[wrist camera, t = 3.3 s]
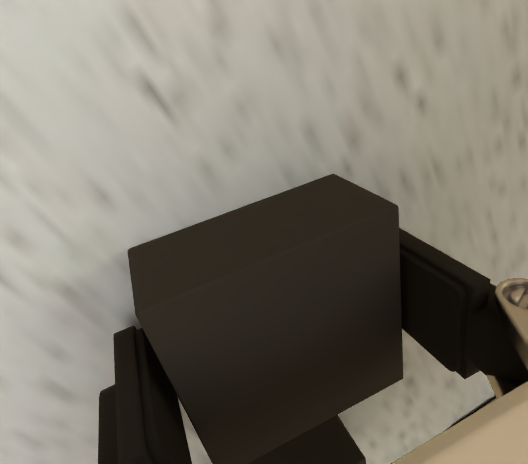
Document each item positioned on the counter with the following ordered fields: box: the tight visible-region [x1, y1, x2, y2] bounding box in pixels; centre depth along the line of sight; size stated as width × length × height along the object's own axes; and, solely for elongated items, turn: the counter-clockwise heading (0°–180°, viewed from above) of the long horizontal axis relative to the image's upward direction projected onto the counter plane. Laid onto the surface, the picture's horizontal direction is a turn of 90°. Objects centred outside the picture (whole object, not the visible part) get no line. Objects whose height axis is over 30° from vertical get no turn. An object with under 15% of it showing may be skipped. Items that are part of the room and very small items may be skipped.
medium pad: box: [128, 174, 403, 464], centre depth 11 cm, size 6×6×3 cm
